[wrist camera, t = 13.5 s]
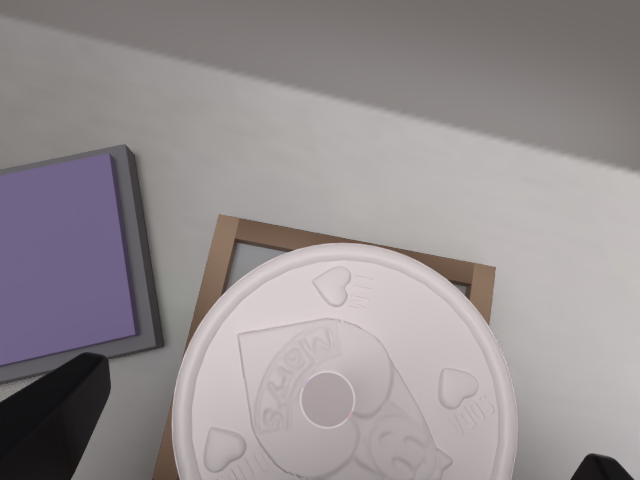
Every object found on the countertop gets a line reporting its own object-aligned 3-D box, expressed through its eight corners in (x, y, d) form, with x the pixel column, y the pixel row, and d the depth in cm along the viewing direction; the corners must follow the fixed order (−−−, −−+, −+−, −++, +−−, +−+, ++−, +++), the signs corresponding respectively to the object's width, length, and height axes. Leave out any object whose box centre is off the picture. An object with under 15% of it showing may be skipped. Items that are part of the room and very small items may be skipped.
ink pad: (163, 346, 19) (151, 345, 18) (-53, 396, 19) (-83, 399, 17) (133, 154, 21) (120, 138, 20) (-64, 194, 21) (-93, 182, 19)
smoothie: (306, 275, 20) (293, 41, 6) (449, 371, 19) (802, 344, 5) (204, 421, 18) (-106, 533, 5) (354, 533, 17) (508, 1070, 4)
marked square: (451, 569, 18) (459, 582, 17) (153, 506, 18) (143, 515, 17) (486, 272, 20) (495, 267, 19) (224, 222, 20) (219, 214, 19)
